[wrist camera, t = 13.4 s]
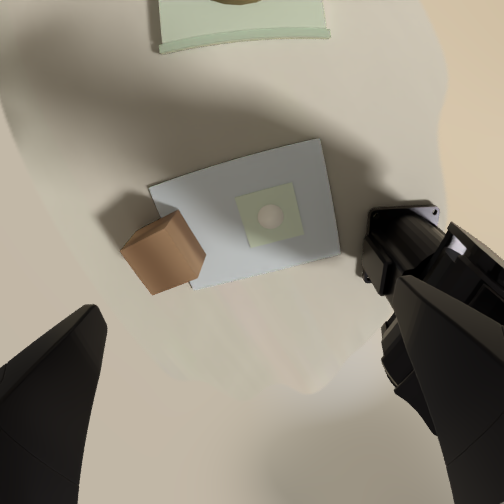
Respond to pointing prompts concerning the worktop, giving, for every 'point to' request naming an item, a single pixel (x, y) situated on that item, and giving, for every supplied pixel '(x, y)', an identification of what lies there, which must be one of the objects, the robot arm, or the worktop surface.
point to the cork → (236, 2)
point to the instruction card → (256, 212)
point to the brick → (165, 253)
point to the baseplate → (238, 22)
